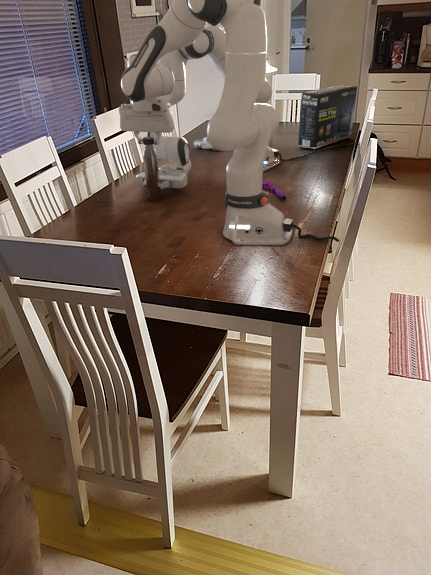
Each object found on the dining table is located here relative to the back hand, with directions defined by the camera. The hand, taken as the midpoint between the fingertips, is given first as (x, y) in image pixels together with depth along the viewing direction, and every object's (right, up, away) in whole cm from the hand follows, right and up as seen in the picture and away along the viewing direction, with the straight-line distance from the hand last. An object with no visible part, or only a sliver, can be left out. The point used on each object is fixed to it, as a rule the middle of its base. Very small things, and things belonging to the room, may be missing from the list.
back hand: (152, 186), depth 177 cm
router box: (+83, +38, +68) cm, 114 cm away
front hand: (0, +14, -7) cm, 16 cm away
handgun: (+46, -1, +6) cm, 46 cm away
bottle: (+1, -4, +4) cm, 6 cm away
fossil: (+22, +36, +69) cm, 81 cm away
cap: (0, +16, -8) cm, 18 cm away
